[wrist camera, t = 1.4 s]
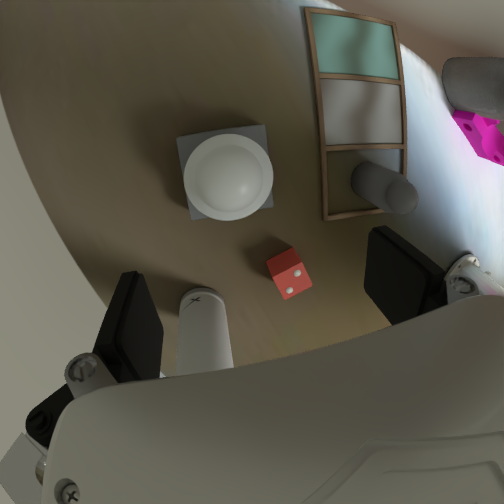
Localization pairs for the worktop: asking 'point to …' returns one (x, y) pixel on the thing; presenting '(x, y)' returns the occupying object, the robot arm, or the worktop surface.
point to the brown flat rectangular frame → (356, 88)
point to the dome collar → (192, 141)
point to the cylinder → (384, 188)
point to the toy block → (482, 135)
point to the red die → (289, 273)
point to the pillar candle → (475, 85)
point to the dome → (228, 177)
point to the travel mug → (202, 333)
